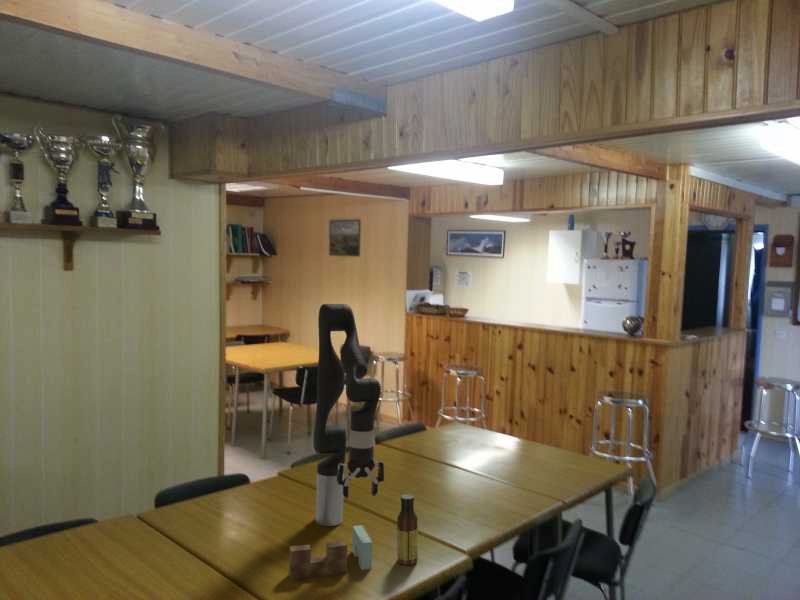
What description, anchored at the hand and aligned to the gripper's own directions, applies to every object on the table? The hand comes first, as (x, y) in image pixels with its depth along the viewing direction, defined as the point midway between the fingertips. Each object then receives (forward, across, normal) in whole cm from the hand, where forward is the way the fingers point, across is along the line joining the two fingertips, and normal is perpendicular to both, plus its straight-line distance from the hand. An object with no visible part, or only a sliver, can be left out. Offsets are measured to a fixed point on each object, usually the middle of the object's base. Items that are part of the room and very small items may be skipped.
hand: (359, 496), depth 185 cm
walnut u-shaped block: (+18, +14, +9) cm, 24 cm away
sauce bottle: (+18, -13, +8) cm, 24 cm away
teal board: (+18, 0, +4) cm, 18 cm away
